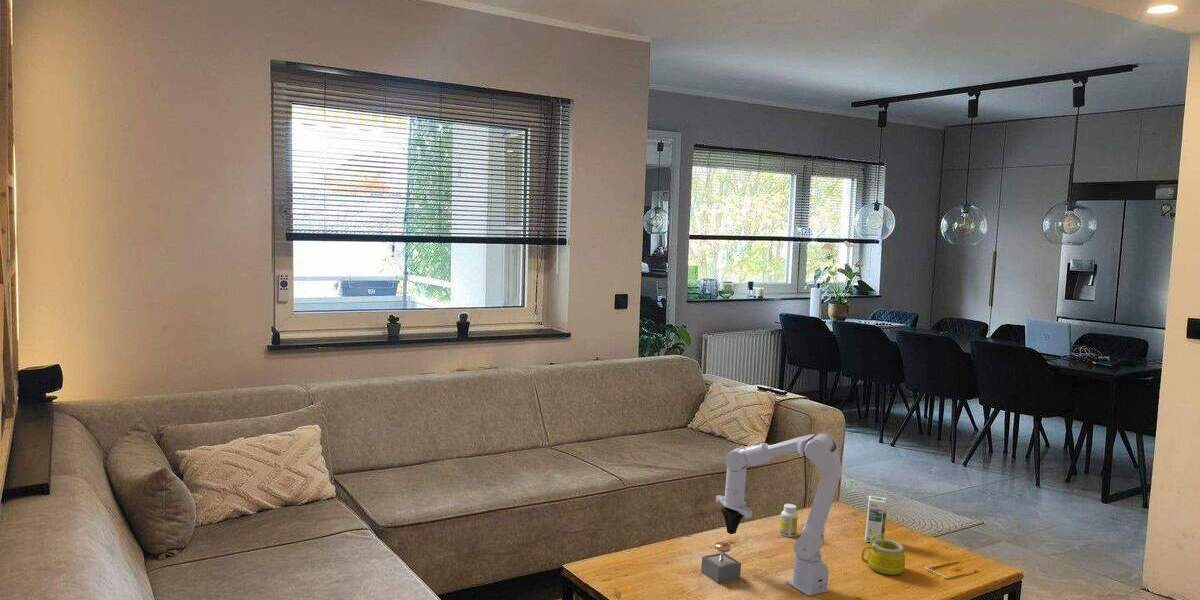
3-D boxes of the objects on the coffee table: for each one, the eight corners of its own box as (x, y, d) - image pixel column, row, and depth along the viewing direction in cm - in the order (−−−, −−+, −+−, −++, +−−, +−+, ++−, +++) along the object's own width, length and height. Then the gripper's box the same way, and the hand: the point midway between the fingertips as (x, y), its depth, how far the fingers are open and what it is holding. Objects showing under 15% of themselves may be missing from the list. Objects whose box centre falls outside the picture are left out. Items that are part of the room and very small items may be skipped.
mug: (902, 565, 261) (906, 528, 259) (905, 580, 250) (909, 541, 249) (859, 558, 264) (863, 521, 263) (860, 572, 254) (864, 534, 252)
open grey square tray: (739, 579, 244) (741, 563, 243) (717, 584, 240) (718, 567, 239) (722, 568, 251) (724, 552, 250) (700, 572, 247) (702, 556, 246)
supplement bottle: (795, 531, 283) (797, 503, 282) (797, 538, 277) (799, 509, 276) (778, 530, 283) (781, 502, 282) (780, 536, 278) (782, 507, 277)
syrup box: (864, 542, 277) (869, 499, 276) (864, 536, 283) (869, 494, 281) (883, 545, 276) (887, 502, 274) (882, 539, 281) (887, 497, 280)
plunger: (736, 564, 244) (737, 547, 243) (719, 567, 241) (720, 550, 240) (723, 556, 249) (724, 539, 248) (706, 559, 246) (708, 542, 246)
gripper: (761, 495, 246) (757, 539, 248) (730, 479, 259) (726, 522, 260) (742, 498, 243) (739, 543, 244) (711, 482, 255) (708, 525, 257)
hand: (731, 532), depth 252 cm, fingers closed
